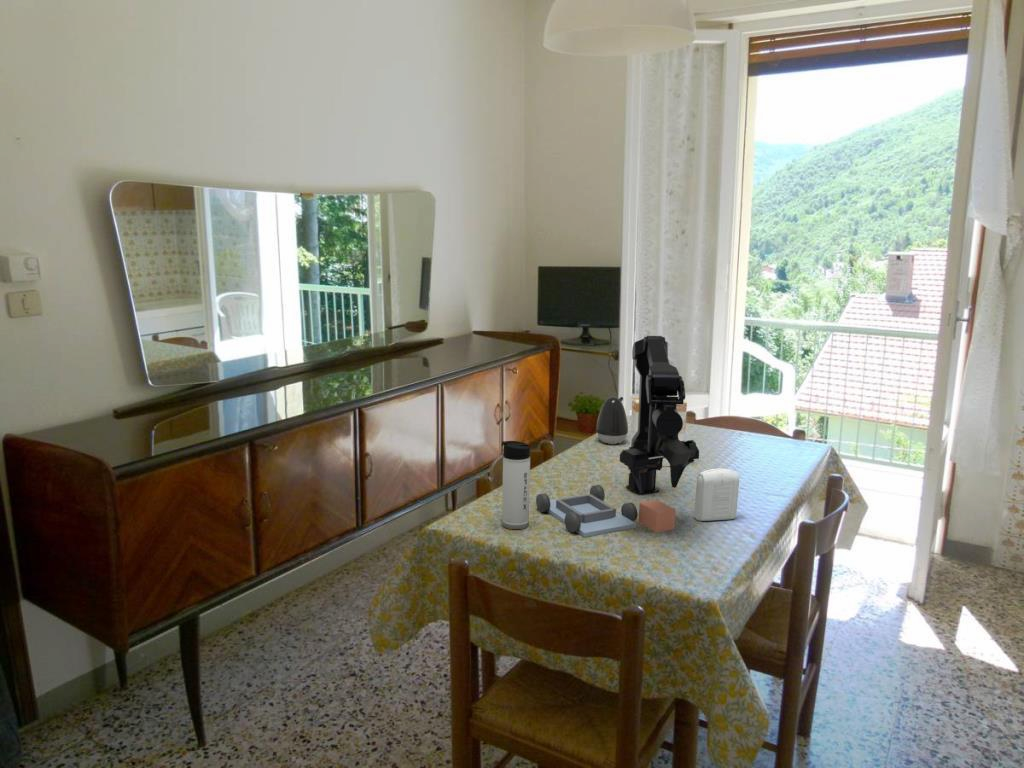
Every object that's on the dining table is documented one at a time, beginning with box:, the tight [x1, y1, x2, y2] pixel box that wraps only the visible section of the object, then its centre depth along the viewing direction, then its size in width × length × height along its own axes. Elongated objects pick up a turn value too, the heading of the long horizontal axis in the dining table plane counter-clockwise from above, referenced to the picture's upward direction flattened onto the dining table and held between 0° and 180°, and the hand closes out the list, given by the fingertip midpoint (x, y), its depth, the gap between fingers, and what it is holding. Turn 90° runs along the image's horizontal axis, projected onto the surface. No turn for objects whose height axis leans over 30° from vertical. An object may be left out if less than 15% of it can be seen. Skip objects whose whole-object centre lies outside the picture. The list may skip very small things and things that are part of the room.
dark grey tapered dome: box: [595, 396, 629, 445], centre depth 246 cm, size 10×10×15 cm
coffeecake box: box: [629, 397, 688, 467], centre depth 224 cm, size 15×7×20 cm, turn 92°
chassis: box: [535, 484, 639, 538], centre depth 182 cm, size 17×22×4 cm
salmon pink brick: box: [638, 499, 676, 534], centre depth 177 cm, size 5×7×5 cm
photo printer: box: [694, 467, 740, 522], centre depth 182 cm, size 10×4×12 cm, turn 103°
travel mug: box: [501, 440, 531, 530], centre depth 175 cm, size 6×7×20 cm
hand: (657, 490), depth 176 cm, fingers open, 9 cm apart
